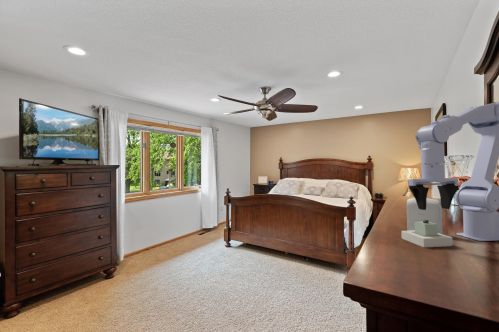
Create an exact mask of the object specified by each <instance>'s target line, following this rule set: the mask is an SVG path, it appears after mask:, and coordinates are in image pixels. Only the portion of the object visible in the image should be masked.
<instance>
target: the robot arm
mask: <svg viewBox="0 0 499 332" xmlns="http://www.w3.org/2000/svg"><path fill="white" fill-rule="evenodd" d="M466 124H468V125H469V126H470V128H471V129H472V130H473V132H475V133H476V134H479V135H481V138H480V142H479V145H478V148H477V153H476V157H475V161H474V165H473V169H472V172H471V177H470V179H468V180H465V181H464V182H462V183H461V184H460V186H459V178H456V177H447V178H446V169H445V168H446V167H445V165H446V164H445V143H447V142H448V140H449V138H450V137H451V136H453V135H454V134H457V133H458V132H460V131H461V130H463V126H464V125H466ZM415 140H416V142H417V144H418V149H419V150H420V164H421V165H420V166H421V167H420V168H421V178H408V182H407V183H408V184H407V185H408V189H409V190H410V192H411V193H412V195H413V198H415V199H416V202H417V205H418V208H419V209H421V210H426V199H427V198H428V193H429V189H430V187H428V186H437V187H436V188H437V189H438V190H437V191H438V193H439V197H440V204H441V209H444V210H445V209H446V210H450V208H451V206H452V205H451V204H452V202H453V200H454V197H455V202H456V204H457V205H458V206H459V207H460V209H462V221H463V223H462V225H463V228H462V229H463V232H455V233H456V235H458V236H460V237H465V238H467V239H471V240H475V241H478V242H486V241H487V242H489V241H494V242H495V241H499V211H497V210H499V186H498V185H497V184H495V183H494V182H493V181H494V178H495V177H494V176H495V173H496V168H497V165H498V163H499V101H496V102H491V103H487V104H483V105H479V106H474V107H473V106H471V107H469V108H465V109H464V110H463V111H462V112H460V113H458V114H457V115H452V114H451V115H450V114H445V115H443V116H441V119H439V120H434V121H431V124H430V125H426V126H425V125H424V126H421V127H420V128H419V129H418V130H417V131H416V134H415ZM425 186H426V187H425Z"/></svg>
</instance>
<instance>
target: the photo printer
mask: <svg viewBox="0 0 499 332" xmlns="http://www.w3.org/2000/svg"><path fill="white" fill-rule="evenodd" d="M442 213H443V212H442V207H441V200H438V199H435V198H430V197H427V199H426V210H421V209H419V208H418V205H417V202H416V199H415V197H411V198H408V199H407V200H406V223H407V225H406V226H407V229H406V230H407V231H409V230H415V222H421V221H423V220H429V222H431V223H435V224H437V225H438V233H440V234H443V216H442Z"/></svg>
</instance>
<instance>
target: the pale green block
mask: <svg viewBox="0 0 499 332" xmlns="http://www.w3.org/2000/svg"><path fill="white" fill-rule="evenodd" d="M415 234H418V235H421V236H424V237H431V236H438V225H437V224H435V223H431V222H429V220H423V221H421V222H415Z"/></svg>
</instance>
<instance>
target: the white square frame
mask: <svg viewBox="0 0 499 332" xmlns="http://www.w3.org/2000/svg"><path fill="white" fill-rule="evenodd" d="M401 239H402V240H404V241H407V242H410V243H411V244H414V245H417V246H420V247H422V248H435V247H436V248H438V247H440V248H442V247H453V245H454V244H453V239H454V238H453V237H452V236H450V235H447V234H443V233H442V234H440V233H438V236H431V237H424V236H421V235H418V234H415V230H409V231H408V230H401Z"/></svg>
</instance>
